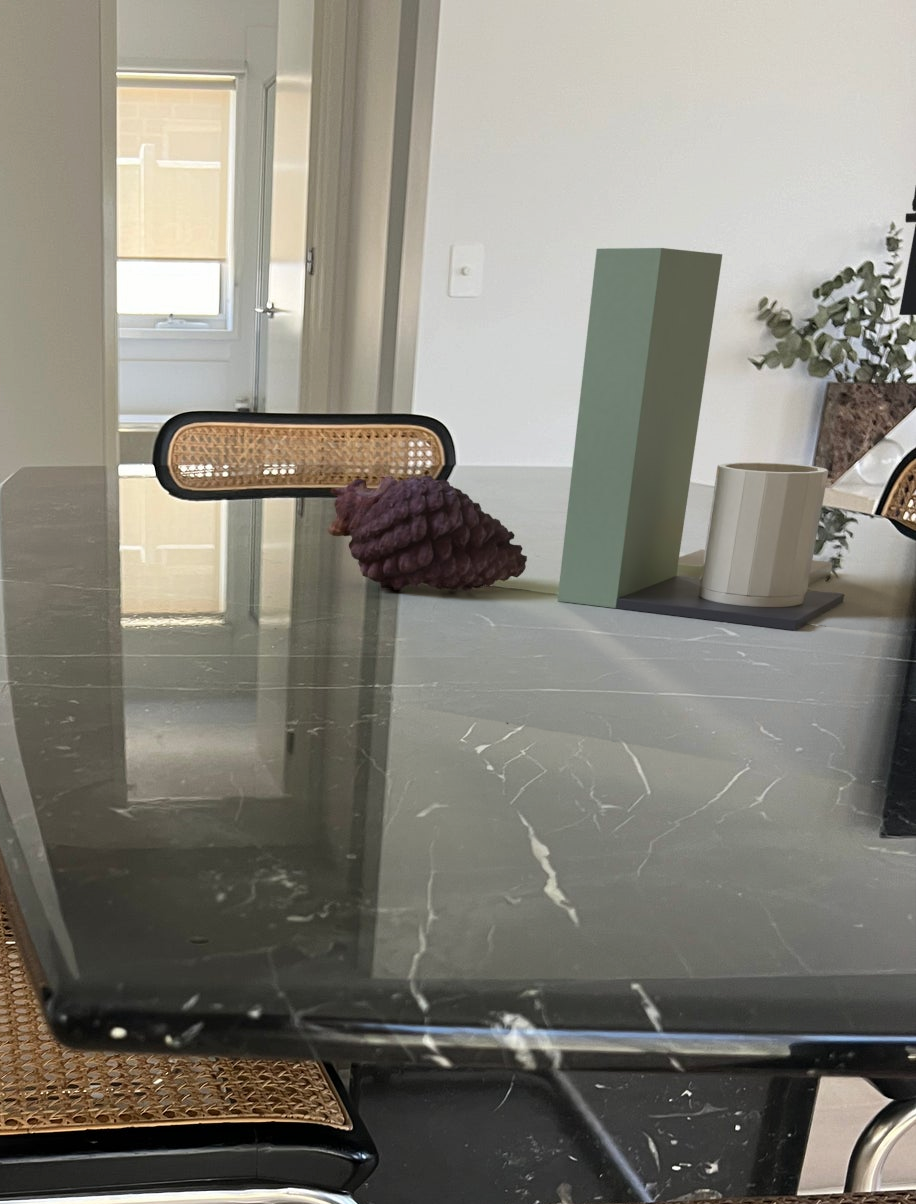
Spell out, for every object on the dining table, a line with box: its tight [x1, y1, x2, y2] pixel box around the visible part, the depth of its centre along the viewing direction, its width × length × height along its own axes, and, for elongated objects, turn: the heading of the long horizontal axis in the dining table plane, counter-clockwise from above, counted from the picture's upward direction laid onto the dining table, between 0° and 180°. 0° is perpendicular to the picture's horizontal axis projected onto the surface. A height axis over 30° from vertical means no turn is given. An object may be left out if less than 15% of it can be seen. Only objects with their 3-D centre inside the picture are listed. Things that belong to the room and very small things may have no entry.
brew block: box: [676, 549, 834, 587], centre depth 132 cm, size 12×10×3 cm
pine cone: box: [326, 474, 528, 591], centre depth 123 cm, size 18×10×10 cm
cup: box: [699, 462, 829, 607], centre depth 116 cm, size 8×8×10 cm
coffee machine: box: [556, 247, 845, 631], centre depth 115 cm, size 19×14×26 cm
